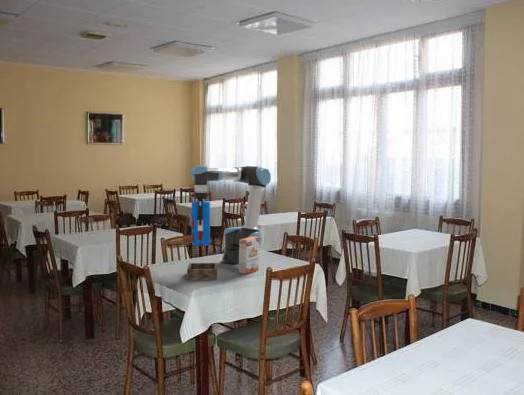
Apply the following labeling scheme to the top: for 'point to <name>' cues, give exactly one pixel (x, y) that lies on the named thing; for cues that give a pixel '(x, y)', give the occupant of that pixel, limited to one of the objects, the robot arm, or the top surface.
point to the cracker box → (248, 255)
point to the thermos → (203, 236)
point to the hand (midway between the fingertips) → (200, 229)
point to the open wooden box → (202, 271)
